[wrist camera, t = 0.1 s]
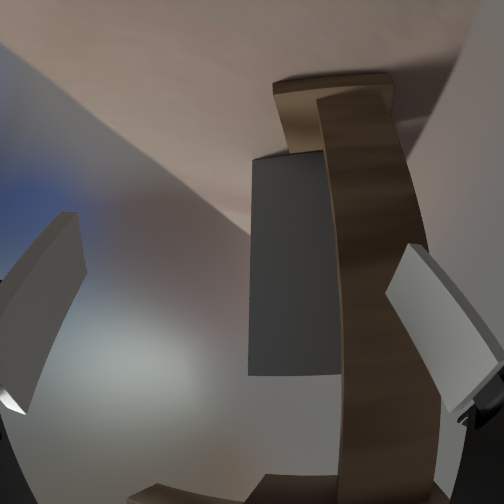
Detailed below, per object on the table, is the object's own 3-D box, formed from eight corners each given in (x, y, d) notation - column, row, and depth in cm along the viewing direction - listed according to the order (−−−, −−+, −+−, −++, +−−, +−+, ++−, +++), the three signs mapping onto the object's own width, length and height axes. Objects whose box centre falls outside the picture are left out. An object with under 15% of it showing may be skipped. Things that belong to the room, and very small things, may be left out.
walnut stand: (247, 88, 20) (234, 540, 10) (388, 73, 18) (444, 530, 7) (267, 144, 27) (265, 495, 16) (383, 133, 24) (416, 488, 13)
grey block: (252, 160, 29) (247, 375, 22) (362, 148, 26) (392, 369, 19) (269, 200, 36) (269, 373, 29) (359, 191, 33) (377, 368, 26)
